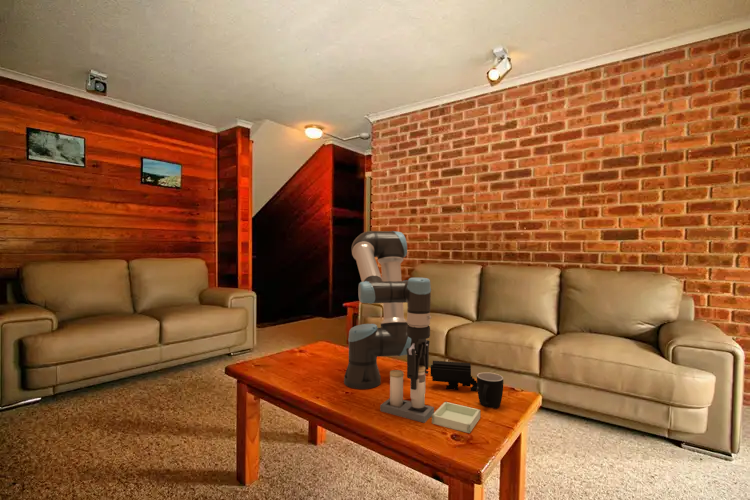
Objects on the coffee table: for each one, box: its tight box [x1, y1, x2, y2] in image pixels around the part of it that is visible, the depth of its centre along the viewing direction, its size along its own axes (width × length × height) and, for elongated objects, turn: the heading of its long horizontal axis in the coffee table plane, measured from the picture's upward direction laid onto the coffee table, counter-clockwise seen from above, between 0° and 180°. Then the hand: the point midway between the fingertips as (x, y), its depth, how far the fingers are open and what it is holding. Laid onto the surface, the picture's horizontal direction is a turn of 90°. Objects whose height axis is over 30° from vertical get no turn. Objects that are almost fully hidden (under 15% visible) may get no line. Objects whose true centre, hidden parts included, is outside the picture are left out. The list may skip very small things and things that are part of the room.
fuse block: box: [379, 369, 435, 424], centre depth 121 cm, size 16×8×13 cm, turn 59°
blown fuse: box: [410, 365, 426, 408], centre depth 119 cm, size 5×5×13 cm
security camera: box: [430, 360, 478, 393], centre depth 143 cm, size 7×18×10 cm, turn 78°
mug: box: [476, 371, 504, 410], centre depth 127 cm, size 12×9×10 cm
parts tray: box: [431, 401, 481, 434], centre depth 116 cm, size 12×12×3 cm
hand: (417, 395), depth 119 cm, fingers closed on blown fuse, 4 cm apart
